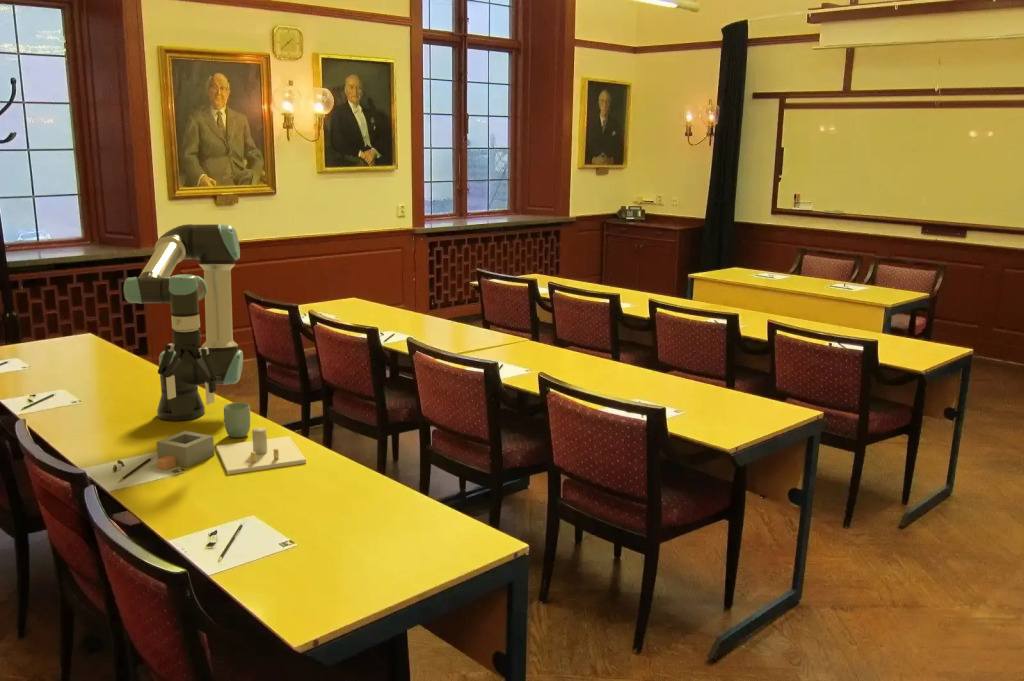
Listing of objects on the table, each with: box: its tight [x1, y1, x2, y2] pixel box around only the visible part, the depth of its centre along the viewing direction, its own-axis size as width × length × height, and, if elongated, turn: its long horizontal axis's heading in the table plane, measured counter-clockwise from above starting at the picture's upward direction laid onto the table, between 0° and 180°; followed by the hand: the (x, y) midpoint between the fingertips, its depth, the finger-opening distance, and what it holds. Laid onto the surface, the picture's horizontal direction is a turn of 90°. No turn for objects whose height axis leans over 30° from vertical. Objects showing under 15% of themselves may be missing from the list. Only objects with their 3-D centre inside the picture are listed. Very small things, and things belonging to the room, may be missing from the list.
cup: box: [223, 402, 252, 439], centre depth 265 cm, size 8×8×10 cm
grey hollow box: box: [156, 430, 215, 471], centre depth 244 cm, size 15×11×6 cm
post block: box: [216, 427, 307, 476], centre depth 249 cm, size 22×22×8 cm
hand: (191, 400), depth 243 cm, fingers open, 13 cm apart
